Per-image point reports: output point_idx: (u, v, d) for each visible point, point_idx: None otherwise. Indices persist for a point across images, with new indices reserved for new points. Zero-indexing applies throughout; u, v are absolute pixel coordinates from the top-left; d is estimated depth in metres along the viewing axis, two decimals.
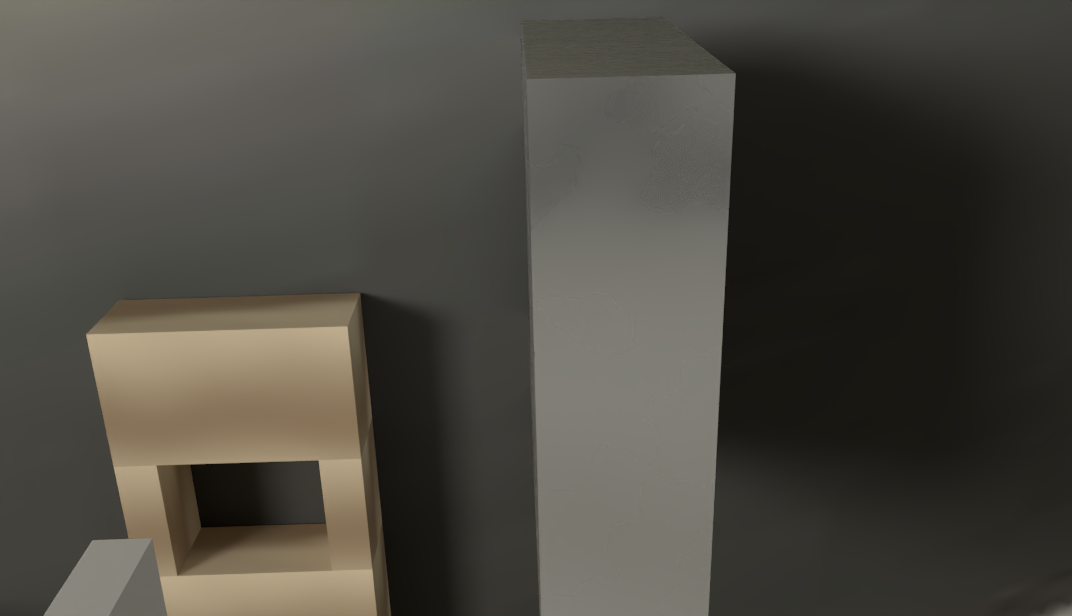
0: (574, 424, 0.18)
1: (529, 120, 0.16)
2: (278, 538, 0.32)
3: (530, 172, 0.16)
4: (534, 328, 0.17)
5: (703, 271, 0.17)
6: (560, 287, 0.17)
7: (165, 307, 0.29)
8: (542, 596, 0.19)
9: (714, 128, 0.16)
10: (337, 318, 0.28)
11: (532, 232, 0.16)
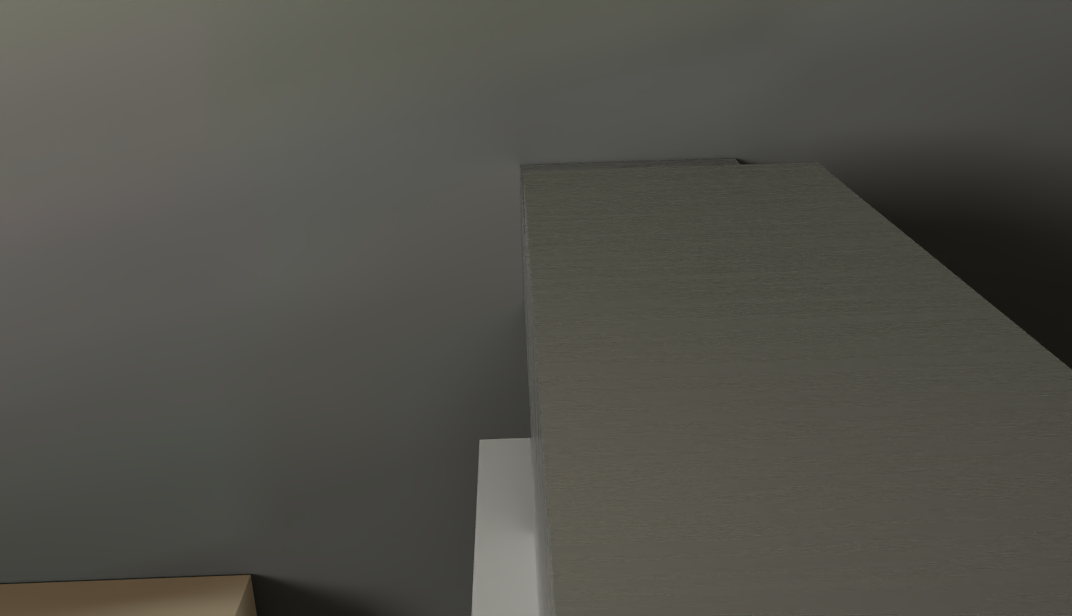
0: None
1: None
2: None
3: None
4: None
5: None
6: None
7: None
8: None
9: None
10: None
11: None
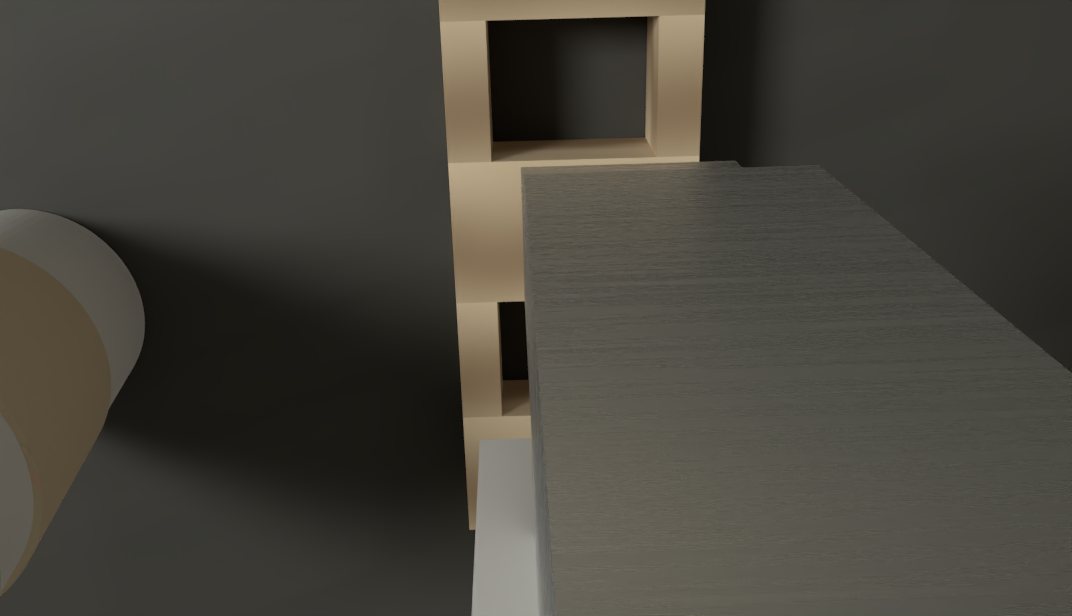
0: None
1: None
2: (581, 144, 0.30)
3: None
4: None
5: None
6: None
7: None
8: None
9: None
10: None
11: None
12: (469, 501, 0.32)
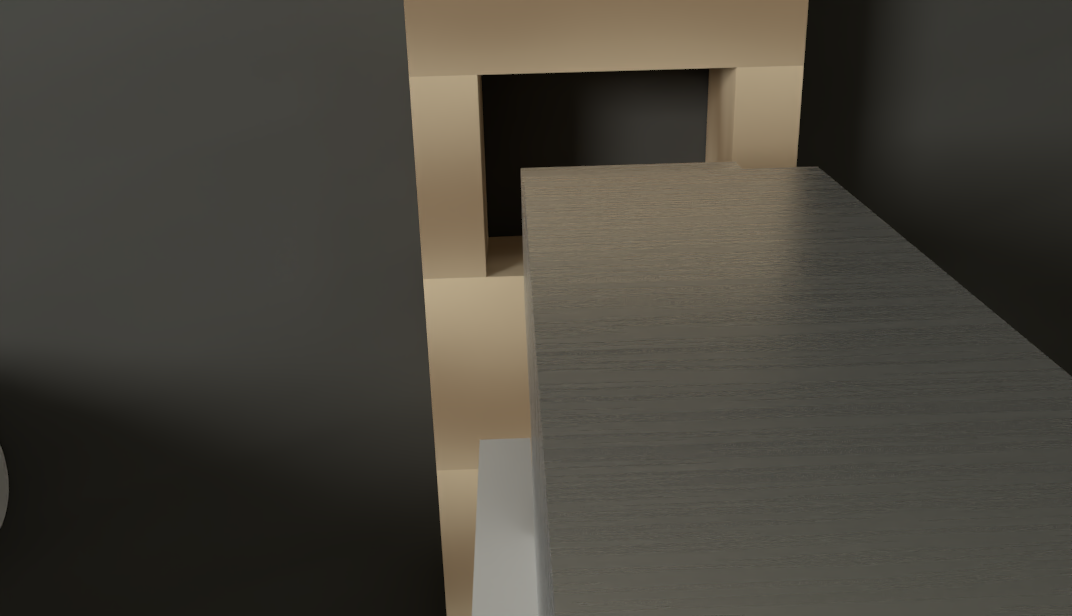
0: None
1: None
2: None
3: None
4: None
5: None
6: None
7: None
8: None
9: None
10: None
11: None
12: None
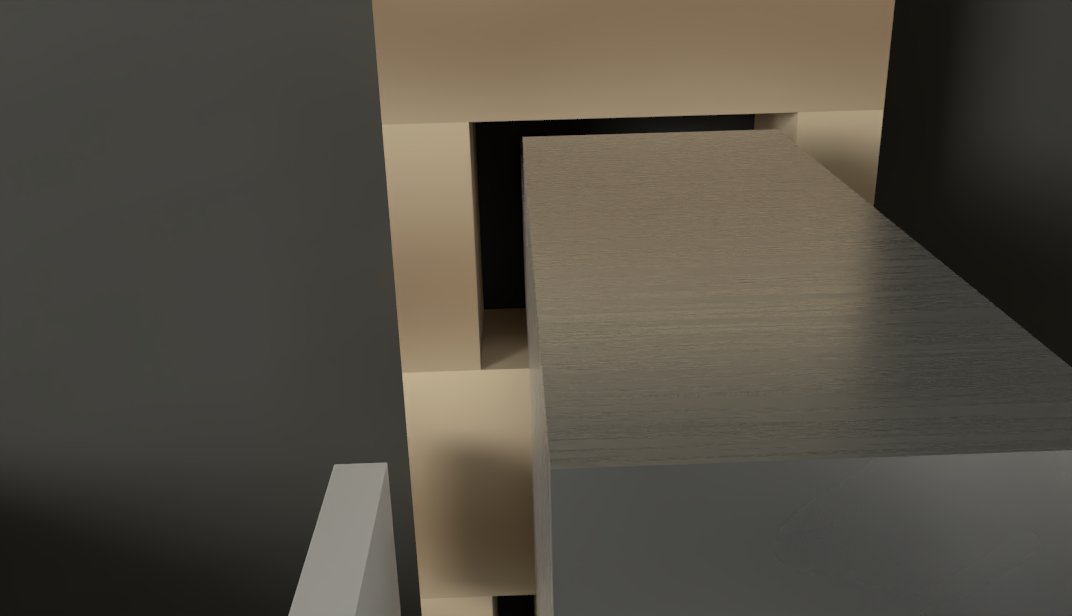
0: None
1: (557, 574, 0.05)
2: None
3: None
4: None
5: None
6: None
7: None
8: None
9: None
10: None
11: None
12: None
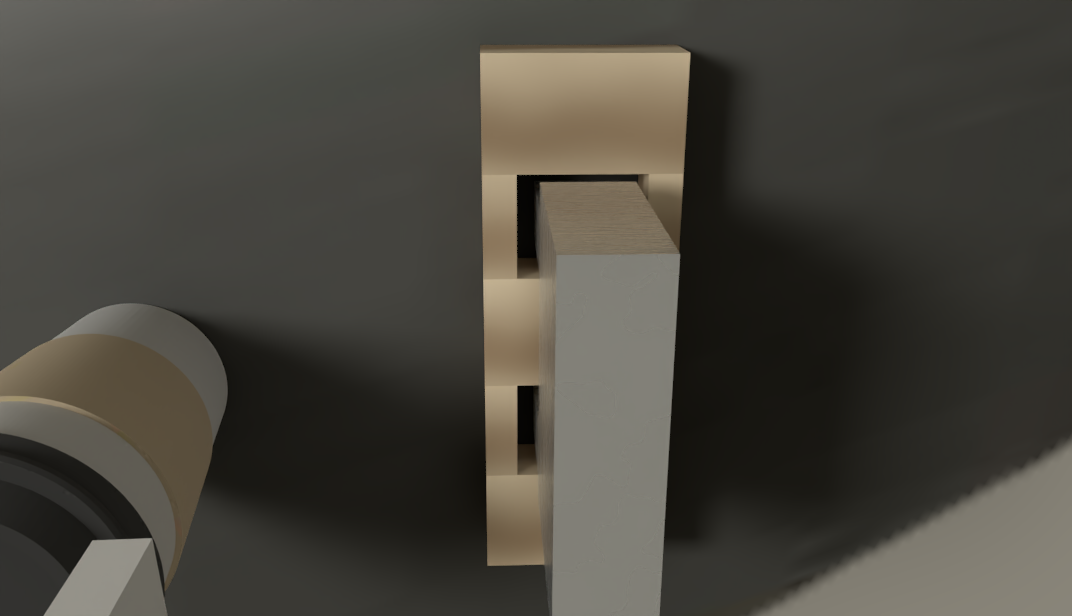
0: (578, 461, 0.28)
1: (557, 278, 0.26)
2: None
3: (556, 308, 0.26)
4: (555, 401, 0.27)
5: (660, 368, 0.27)
6: (572, 376, 0.27)
7: (525, 46, 0.35)
8: (553, 572, 0.29)
9: (667, 284, 0.26)
10: (676, 50, 0.34)
11: (556, 343, 0.27)
12: (488, 542, 0.40)
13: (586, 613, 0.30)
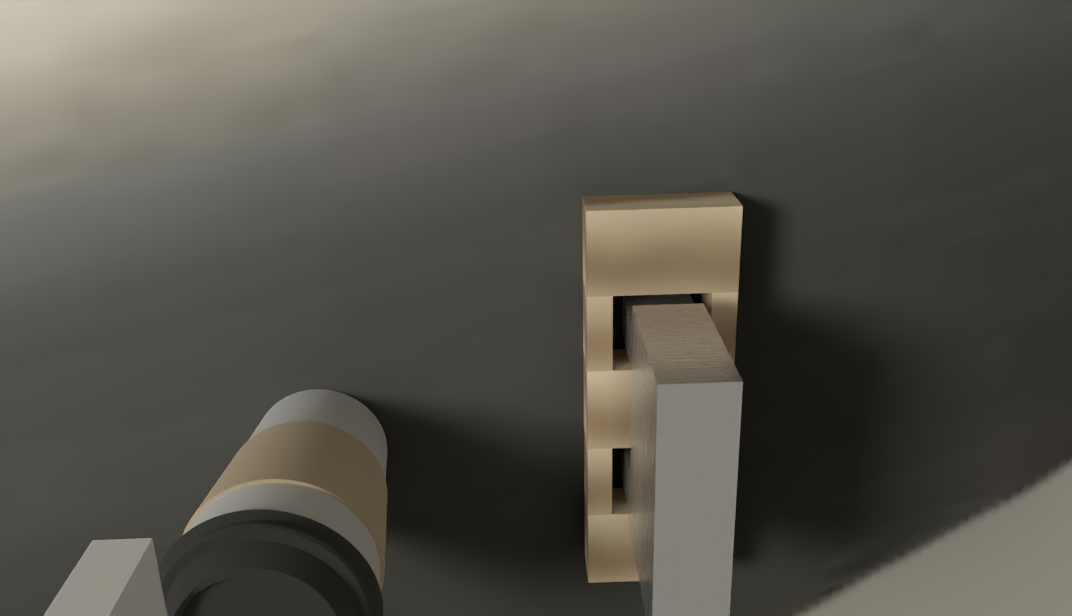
0: (671, 521, 0.40)
1: (657, 399, 0.38)
2: None
3: (657, 419, 0.38)
4: (655, 480, 0.39)
5: (729, 457, 0.39)
6: (667, 463, 0.39)
7: (616, 199, 0.47)
8: (653, 597, 0.41)
9: (734, 402, 0.38)
10: (732, 202, 0.45)
11: (656, 442, 0.38)
12: (589, 565, 0.52)
13: None
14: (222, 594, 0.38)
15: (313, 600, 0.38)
